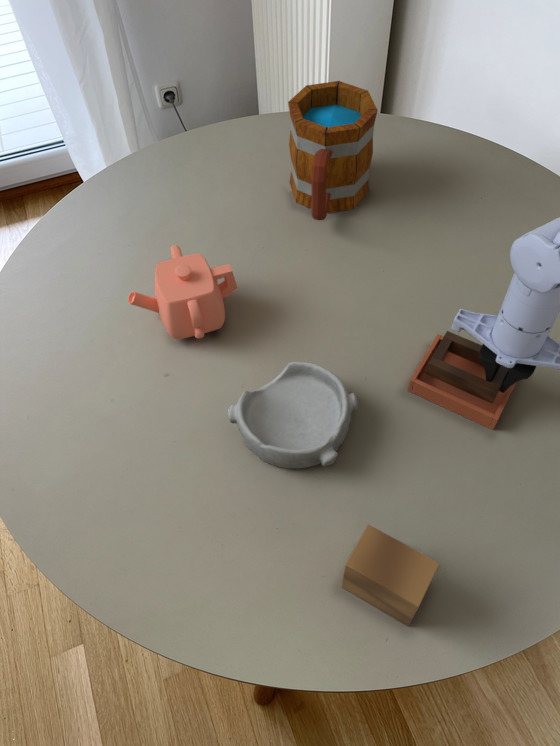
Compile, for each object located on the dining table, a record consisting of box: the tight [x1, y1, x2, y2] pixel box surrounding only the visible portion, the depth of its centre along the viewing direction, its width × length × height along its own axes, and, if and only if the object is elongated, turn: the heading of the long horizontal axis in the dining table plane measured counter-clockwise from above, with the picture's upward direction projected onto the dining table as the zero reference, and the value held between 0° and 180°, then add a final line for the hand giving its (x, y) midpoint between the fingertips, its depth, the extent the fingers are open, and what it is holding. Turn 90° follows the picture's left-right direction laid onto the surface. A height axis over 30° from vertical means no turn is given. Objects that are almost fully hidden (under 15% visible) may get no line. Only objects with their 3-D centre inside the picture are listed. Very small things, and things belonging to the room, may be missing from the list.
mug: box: [287, 80, 378, 221], centre depth 102 cm, size 20×14×15 cm
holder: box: [407, 333, 517, 431], centre depth 85 cm, size 12×9×2 cm
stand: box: [341, 524, 440, 627], centre depth 68 cm, size 8×5×8 cm, turn 59°
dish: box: [227, 361, 358, 469], centre depth 81 cm, size 14×14×5 cm
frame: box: [426, 330, 510, 404], centre depth 82 cm, size 9×6×2 cm, turn 59°
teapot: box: [127, 244, 239, 340], centre depth 90 cm, size 12×12×10 cm
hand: (497, 383), depth 82 cm, fingers closed on frame, 1 cm apart
